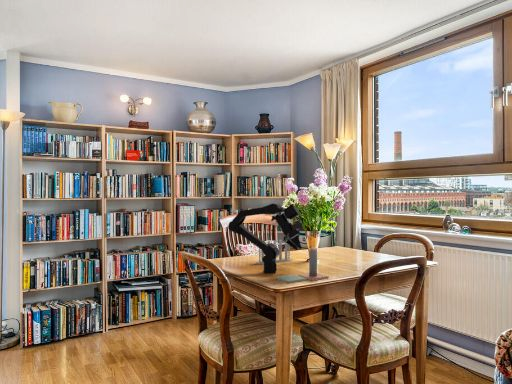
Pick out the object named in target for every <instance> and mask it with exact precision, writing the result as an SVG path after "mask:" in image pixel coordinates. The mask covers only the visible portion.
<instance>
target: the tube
mask: <svg viewBox="0 0 512 384" xmlns="http://www.w3.org/2000/svg"><path fill="white" fill-rule="evenodd" d="M308 250H309V251H308V254H309V255H308V261H309V262H308V267H309V268H308V271H309V272H308V273H309V276H317V273H318V250H317V249H316V248H315V247H311V248H310V249H308Z"/></svg>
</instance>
